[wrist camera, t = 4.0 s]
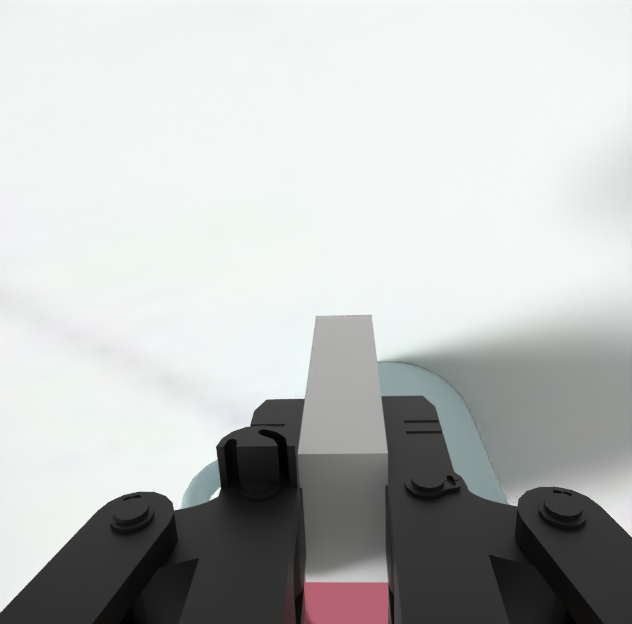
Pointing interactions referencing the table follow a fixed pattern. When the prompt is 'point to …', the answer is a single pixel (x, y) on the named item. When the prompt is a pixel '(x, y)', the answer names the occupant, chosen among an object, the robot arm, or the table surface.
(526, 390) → the table surface
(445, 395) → the mug
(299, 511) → the robot arm
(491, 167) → the table surface
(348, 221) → the table surface
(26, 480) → the table surface
